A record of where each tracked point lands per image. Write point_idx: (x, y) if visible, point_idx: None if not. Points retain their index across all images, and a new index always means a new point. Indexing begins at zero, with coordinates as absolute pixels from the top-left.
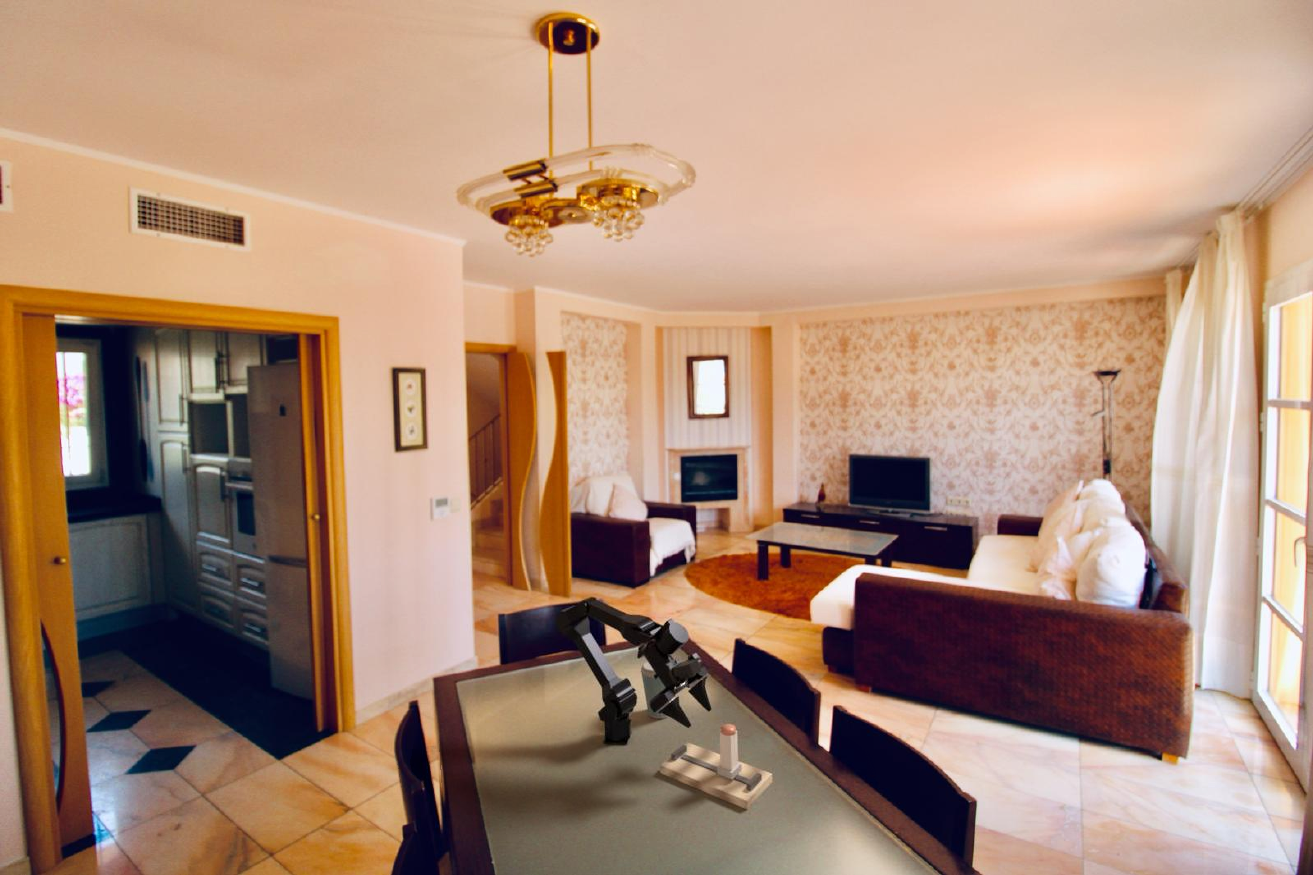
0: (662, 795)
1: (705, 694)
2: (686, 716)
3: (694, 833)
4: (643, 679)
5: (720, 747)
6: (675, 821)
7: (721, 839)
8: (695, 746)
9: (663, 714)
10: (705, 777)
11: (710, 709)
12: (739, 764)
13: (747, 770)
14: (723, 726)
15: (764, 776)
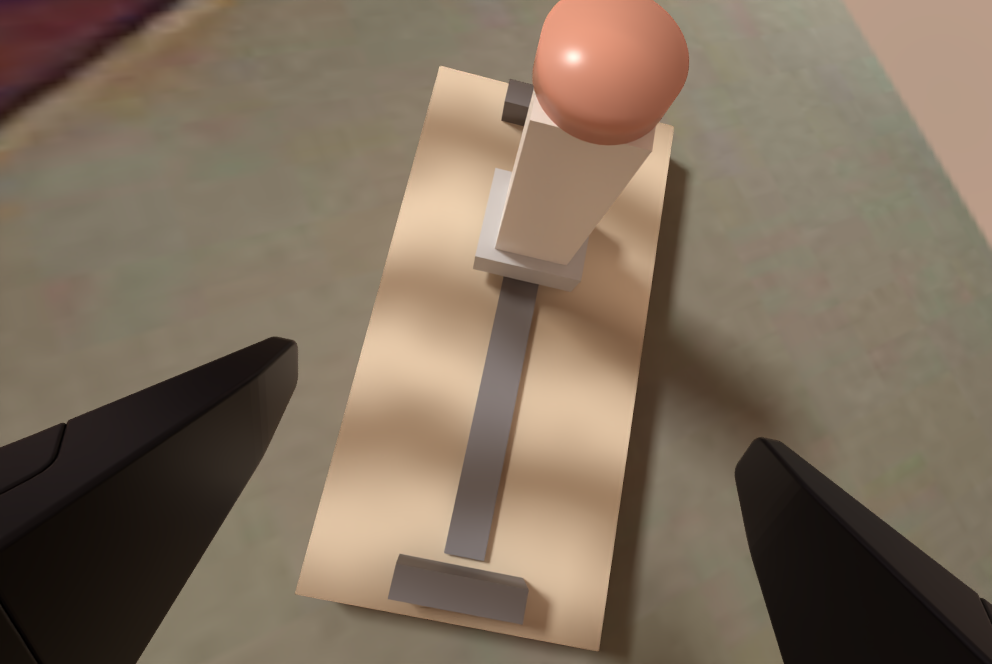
0: (737, 527)
1: (86, 447)
2: (850, 523)
3: (870, 297)
4: None
5: (605, 211)
6: (852, 394)
7: (845, 197)
8: (327, 522)
9: None
10: (596, 351)
11: (294, 345)
12: (505, 176)
13: (458, 173)
14: (616, 97)
15: (474, 92)
